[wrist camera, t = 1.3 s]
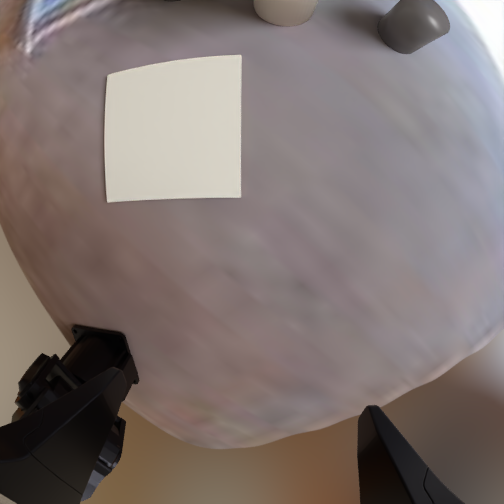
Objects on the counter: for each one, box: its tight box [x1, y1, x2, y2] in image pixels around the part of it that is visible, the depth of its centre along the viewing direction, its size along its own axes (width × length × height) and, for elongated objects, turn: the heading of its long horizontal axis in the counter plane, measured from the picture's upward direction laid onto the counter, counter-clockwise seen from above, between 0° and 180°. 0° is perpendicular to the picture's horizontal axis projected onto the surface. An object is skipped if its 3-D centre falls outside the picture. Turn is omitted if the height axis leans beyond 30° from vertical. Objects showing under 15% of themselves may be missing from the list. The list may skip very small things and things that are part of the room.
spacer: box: [378, 0, 450, 54], centre depth 11 cm, size 4×4×5 cm
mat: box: [104, 55, 242, 202], centre depth 16 cm, size 10×10×1 cm
